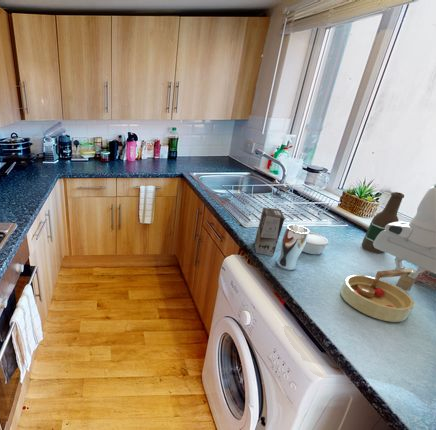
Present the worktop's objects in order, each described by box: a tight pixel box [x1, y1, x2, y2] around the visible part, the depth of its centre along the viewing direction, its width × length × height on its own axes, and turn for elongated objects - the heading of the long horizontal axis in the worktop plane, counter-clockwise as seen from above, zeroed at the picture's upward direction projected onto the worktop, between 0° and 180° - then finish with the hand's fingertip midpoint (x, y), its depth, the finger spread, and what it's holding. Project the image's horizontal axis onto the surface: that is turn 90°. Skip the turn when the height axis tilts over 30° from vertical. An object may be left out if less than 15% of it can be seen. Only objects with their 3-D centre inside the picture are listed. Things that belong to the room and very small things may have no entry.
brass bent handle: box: [356, 267, 418, 297], centre depth 89 cm, size 19×4×7 cm, turn 102°
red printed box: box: [414, 269, 436, 291], centre depth 93 cm, size 8×3×10 cm, turn 47°
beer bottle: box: [361, 191, 405, 254], centre depth 111 cm, size 8×8×24 cm
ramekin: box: [302, 231, 330, 255], centre depth 114 cm, size 11×11×5 cm
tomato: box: [374, 288, 384, 297], centre depth 88 cm, size 3×3×3 cm
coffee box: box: [254, 207, 286, 257], centre depth 110 cm, size 9×6×16 cm
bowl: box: [340, 274, 415, 323], centre depth 85 cm, size 15×15×5 cm
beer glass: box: [276, 224, 310, 271], centre depth 101 cm, size 7×7×15 cm
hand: (404, 274), depth 89 cm, fingers closed on brass bent handle, 2 cm apart
